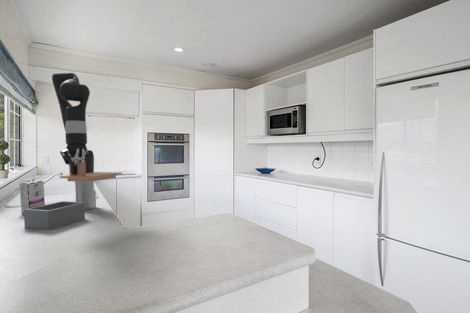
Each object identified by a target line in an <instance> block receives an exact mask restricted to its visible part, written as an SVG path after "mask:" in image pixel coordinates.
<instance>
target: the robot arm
mask: <svg viewBox="0 0 470 313" xmlns="http://www.w3.org/2000/svg"><path fill="white" fill-rule="evenodd" d="M51 79H52V84H53V88H54V91H55V94H56V97H57V102H58V104H59V108H60V112H61V113H60V114H61V119H62V120H61V121H62V123H63V128H64V131H65V144H66V145H67V146H66V147H65V148H66V149H64V150H60V152H59V153H60V155H61V157H62V159H63V161H64V163H65V165H68V166H69V165H70V166H71V174H72V175H77V166H76V165H77V163H86V173H94V172H95V170H94V169H95V165H94V164H95V155H94V152H93V150H89V149H88V148H87V144H88V130H87V122H86V121H87V120H86V119H87V118H86V116H87V115H86V111H87V105H88V102H89V98H90V95H91V94H90V92H91V90H90V88H89V87H88V86H87V85H86V84H81V82H80V79H79V77H78V75H77V74H76V73H73V72H61V73H59V72H57V73H53V74H52V76H51ZM69 101H71V102H79V104H78V105H72V104H71V103H70V102H69ZM74 187H75V189H74V190H75V202H84V205H85V211H88V210H92V209H94V208H96V207H97V201H96V200H97V198H96V197H97V196H96V195H97V194H96V190H95V181H91V182H75V181H74Z"/></svg>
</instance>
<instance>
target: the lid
mask: <svg viewBox="0 0 470 313" xmlns="http://www.w3.org/2000/svg"><path fill="white" fill-rule="evenodd" d="M76 166H77V175H72V174H71V166H70V165H68V167H69V168H68V169H69V174H68V175H61V176H59V179H67V182H74V183H75V182H91V181H94V182H96V181H103V180H111V179H116V178H117V176H119V175H123V172H117V171H116V172H110V171H108V172H107V171H105V172H102V171H100V172H99V171H97V172H95V171H94V173H86V163H77V165H76Z"/></svg>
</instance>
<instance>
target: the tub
mask: <svg viewBox="0 0 470 313" xmlns="http://www.w3.org/2000/svg"><path fill="white" fill-rule="evenodd" d="M85 211H86V210H85V205H84V202H76V201H65V200H64V201H63V200H62V201H57V202H51V203H49V204H45V205H42V206H38V207H33V208H28V209H24V214H23V217H24V218H23V219H24V228H25V229H32V230H33V229H34V230H44V231H49V230H54V229H57V228H60V227H64V226H66V225H69V224H70V225H71V224H72V223H73V224H74V223H76V222H79V221H84V220H86V212H85Z"/></svg>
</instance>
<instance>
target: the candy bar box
mask: <svg viewBox="0 0 470 313" xmlns="http://www.w3.org/2000/svg"><path fill="white" fill-rule="evenodd" d="M44 185H45V184H44V181H43V180H34V181H27V182H22V183H19V193H20V207H21V214H23V215H24V209H28V208H33V207H38V206H42V205H46V204H45V190H44V188H45V186H44Z"/></svg>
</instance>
